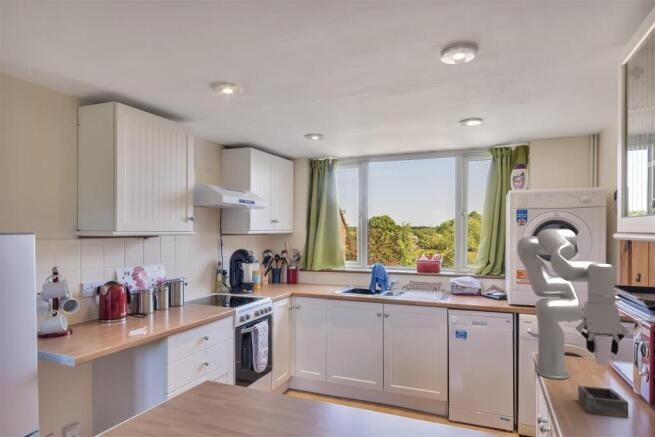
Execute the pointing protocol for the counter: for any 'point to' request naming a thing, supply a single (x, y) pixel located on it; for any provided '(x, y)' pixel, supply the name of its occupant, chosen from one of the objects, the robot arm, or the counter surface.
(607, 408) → the frame
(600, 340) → the smoothie
